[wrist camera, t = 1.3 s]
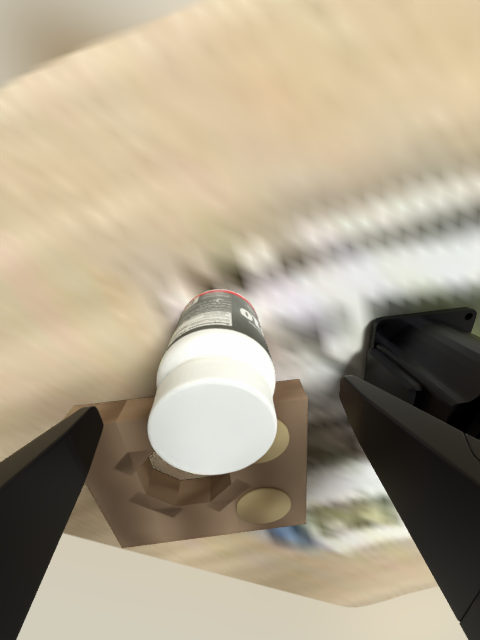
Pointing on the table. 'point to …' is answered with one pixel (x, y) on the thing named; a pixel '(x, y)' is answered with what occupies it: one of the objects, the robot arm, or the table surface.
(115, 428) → the pin board
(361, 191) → the table surface
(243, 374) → the pill bottle
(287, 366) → the table surface
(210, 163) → the table surface
